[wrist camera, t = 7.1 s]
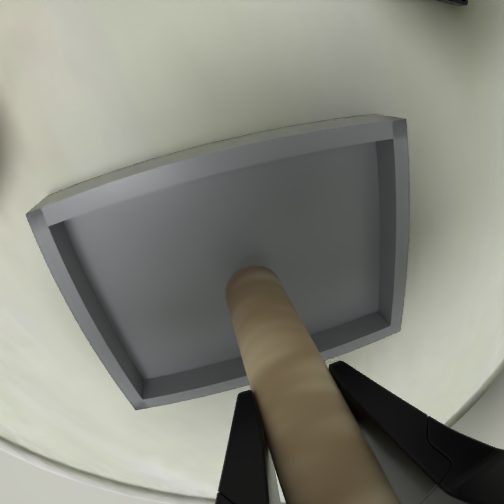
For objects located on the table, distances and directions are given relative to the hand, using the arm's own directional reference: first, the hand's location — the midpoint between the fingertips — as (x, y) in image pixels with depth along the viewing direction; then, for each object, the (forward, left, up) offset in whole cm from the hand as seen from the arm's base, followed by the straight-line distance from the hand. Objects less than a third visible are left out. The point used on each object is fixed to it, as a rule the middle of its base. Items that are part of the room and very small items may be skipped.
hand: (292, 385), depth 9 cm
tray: (0, 0, -8) cm, 8 cm away
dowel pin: (0, 0, -6) cm, 6 cm away
